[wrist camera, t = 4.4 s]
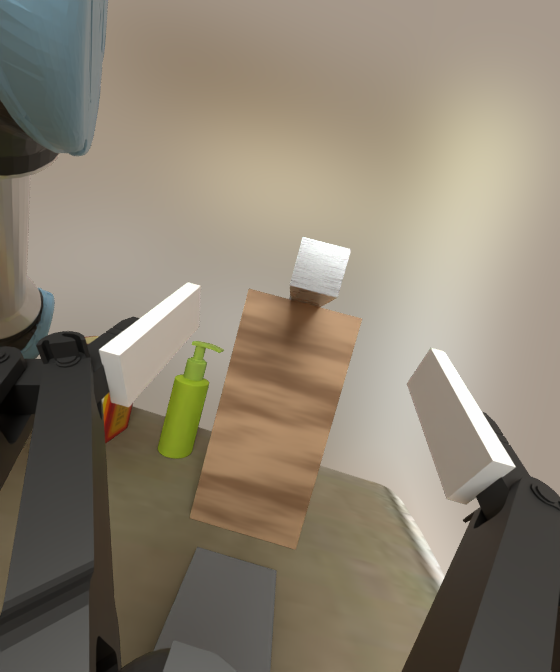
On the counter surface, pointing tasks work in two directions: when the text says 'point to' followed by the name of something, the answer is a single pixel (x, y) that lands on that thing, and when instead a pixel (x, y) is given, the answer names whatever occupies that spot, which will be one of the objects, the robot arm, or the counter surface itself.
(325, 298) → the pin
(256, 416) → the brown wooden block
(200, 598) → the base plate
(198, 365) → the soap dispenser
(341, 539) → the counter surface
